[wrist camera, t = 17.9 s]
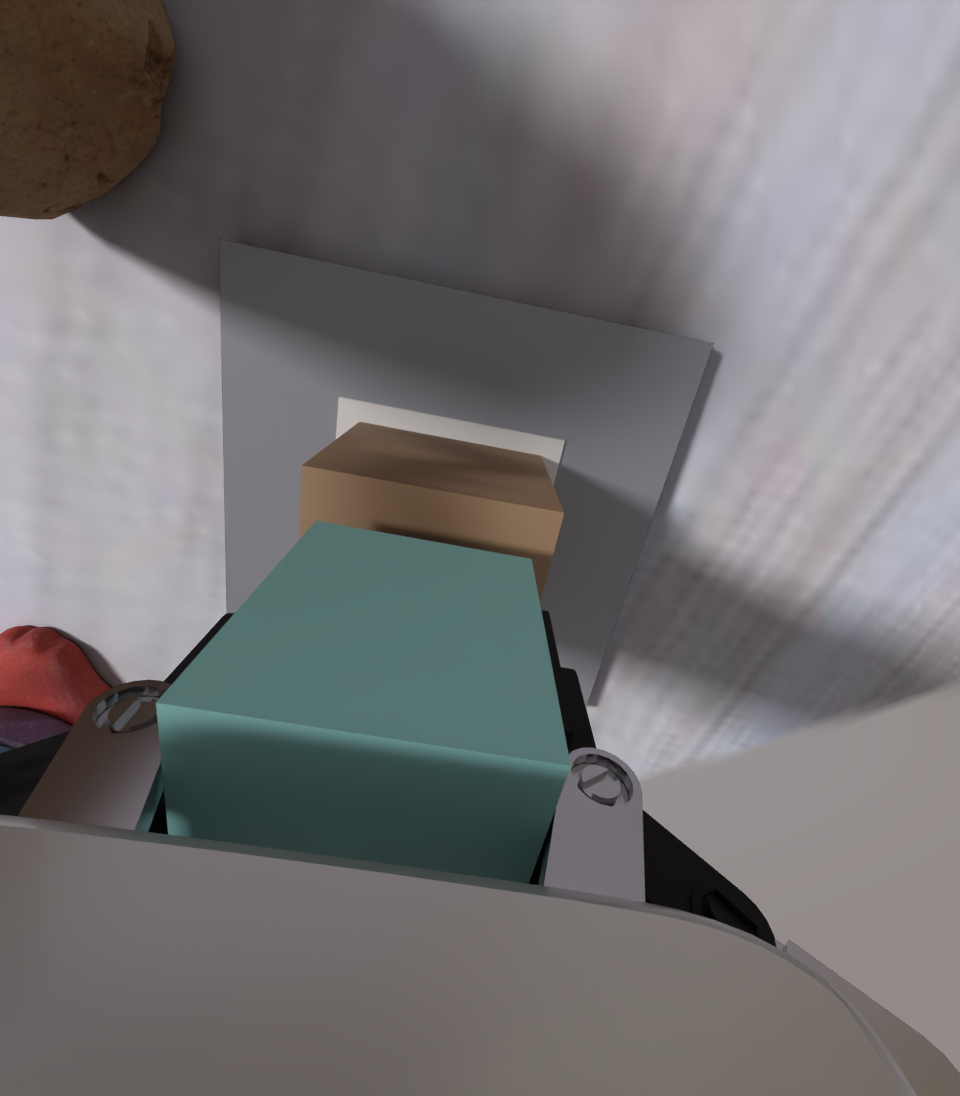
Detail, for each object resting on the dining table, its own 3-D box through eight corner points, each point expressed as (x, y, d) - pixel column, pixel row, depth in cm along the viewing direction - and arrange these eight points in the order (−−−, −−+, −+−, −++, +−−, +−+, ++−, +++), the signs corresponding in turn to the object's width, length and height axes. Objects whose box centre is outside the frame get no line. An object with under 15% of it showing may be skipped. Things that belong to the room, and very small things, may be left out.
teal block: (531, 559, 12) (570, 766, 6) (489, 721, 14) (491, 987, 8) (316, 520, 11) (155, 702, 6) (305, 693, 13) (179, 949, 8)
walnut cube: (540, 455, 18) (564, 513, 12) (504, 609, 21) (510, 712, 15) (359, 421, 18) (301, 465, 12) (345, 583, 20) (292, 679, 15)
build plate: (701, 342, 17) (714, 343, 16) (579, 700, 24) (583, 716, 23) (234, 244, 16) (217, 238, 15) (237, 645, 23) (226, 660, 22)
